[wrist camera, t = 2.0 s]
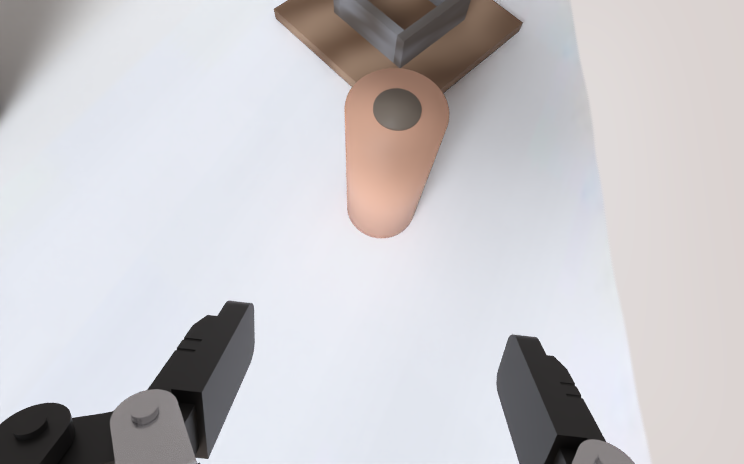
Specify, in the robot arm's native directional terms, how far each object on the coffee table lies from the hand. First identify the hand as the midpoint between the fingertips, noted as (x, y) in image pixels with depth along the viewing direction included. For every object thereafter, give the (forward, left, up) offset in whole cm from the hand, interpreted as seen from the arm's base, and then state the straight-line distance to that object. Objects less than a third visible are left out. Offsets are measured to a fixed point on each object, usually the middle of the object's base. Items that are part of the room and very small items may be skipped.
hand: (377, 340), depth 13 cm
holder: (-19, +23, -16) cm, 34 cm away
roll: (-7, +9, -16) cm, 19 cm away
